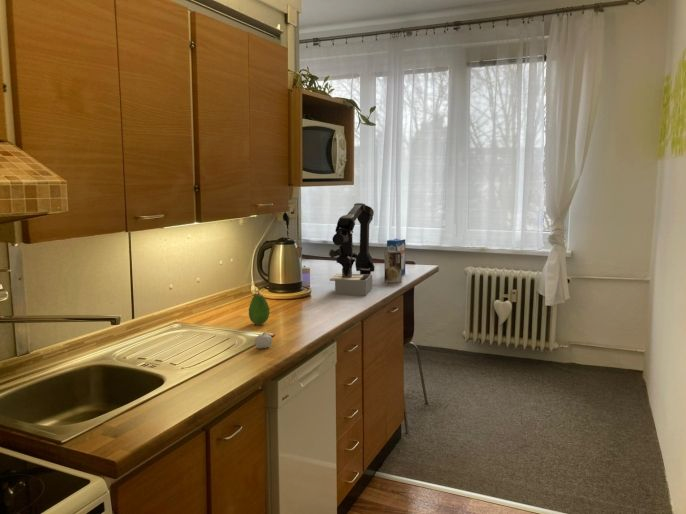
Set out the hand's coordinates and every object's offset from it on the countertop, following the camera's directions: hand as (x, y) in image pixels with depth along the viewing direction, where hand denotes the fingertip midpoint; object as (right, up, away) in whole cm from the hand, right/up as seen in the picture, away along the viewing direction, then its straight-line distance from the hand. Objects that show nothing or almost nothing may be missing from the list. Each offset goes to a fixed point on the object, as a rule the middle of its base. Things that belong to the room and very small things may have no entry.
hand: (347, 274), depth 273 cm
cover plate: (0, -2, 0) cm, 2 cm away
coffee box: (+25, -5, +25) cm, 35 cm away
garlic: (-28, -22, -87) cm, 94 cm away
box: (+3, -8, 0) cm, 9 cm away
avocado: (-34, -17, -58) cm, 69 cm away
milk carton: (+28, -2, +44) cm, 53 cm away
